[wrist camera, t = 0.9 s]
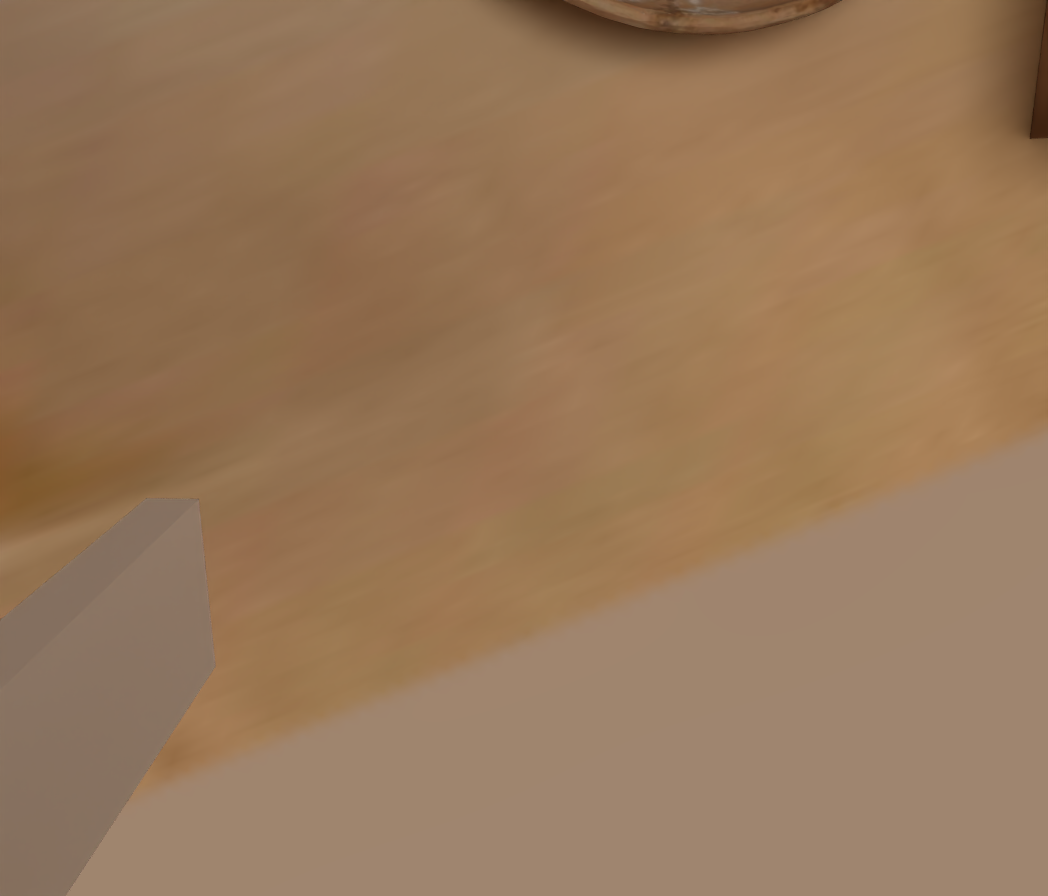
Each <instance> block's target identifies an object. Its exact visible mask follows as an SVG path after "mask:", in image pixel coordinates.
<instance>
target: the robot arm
mask: <svg viewBox="0 0 1048 896" xmlns="http://www.w3.org/2000/svg"><path fill="white" fill-rule="evenodd" d="M214 668H215V656H214V646H213V636H212V626H211V616H210V606H209V596H208V586H207V576H206V566H205V556H204V546H203V537H202V527H201V517H200V507H199V499H165V498H146V499H145V500H144V501H143V502H141V503H140V504H139V505H138V506H137V507H135V508H134V509H133V510H132V511H131V512H129V513H128V514H127V515H126V516H125V517H123V518H122V519H121V520H120V521H119V522H117V523H116V524H115V525H114V526H113V527H111V528H110V529H109V530H108V531H107V532H105V533H104V534H103V535H102V536H101V537H99V538H98V539H97V540H96V541H95V542H93V543H92V544H91V545H90V546H89V547H87V548H86V549H85V550H84V551H83V552H81V553H80V554H79V555H78V556H77V557H75V558H74V559H73V560H72V561H71V562H69V563H68V564H67V565H66V566H65V567H63V568H62V569H61V570H60V571H58V572H57V573H56V574H55V575H54V576H52V577H51V578H50V579H49V580H48V581H46V582H45V583H44V584H43V585H42V586H40V587H39V588H38V589H37V590H36V591H34V592H33V593H32V594H31V595H30V596H28V597H27V598H26V599H25V600H24V601H22V602H21V603H20V604H19V605H18V606H16V607H15V608H14V609H13V610H12V611H10V612H9V613H8V614H7V615H6V616H4V617H3V618H2V619H1V620H0V896H66V895H67V893H68V891H69V890H70V888H71V887H72V885H73V884H74V882H75V881H76V879H77V878H78V876H79V875H80V873H81V872H82V870H83V869H84V867H85V866H86V864H87V862H88V861H89V859H90V858H91V856H92V855H93V853H94V852H95V850H96V849H97V847H98V846H99V844H100V843H101V841H102V839H103V838H104V836H105V835H106V833H107V832H108V830H109V828H110V827H111V826H112V824H113V823H114V821H115V820H116V818H117V816H118V815H119V813H120V812H121V810H122V809H123V807H124V806H125V804H126V803H127V801H128V800H129V798H130V797H131V795H132V794H133V792H134V790H135V789H136V787H137V786H138V784H139V783H140V781H141V780H142V778H143V777H144V775H145V774H146V772H147V771H148V769H149V767H150V766H151V764H152V763H153V761H154V760H155V758H156V757H157V755H158V754H159V752H160V751H161V749H162V748H163V746H164V744H165V743H166V741H167V740H168V738H169V737H170V735H171V734H172V732H173V731H174V729H175V728H176V726H177V725H178V723H179V722H180V720H181V718H182V717H183V715H184V714H185V712H186V711H187V709H188V708H189V706H190V705H191V703H192V702H193V700H194V699H195V697H196V695H197V694H198V692H199V691H200V689H201V688H202V686H203V685H204V683H205V682H206V680H207V679H208V677H209V676H210V674H211V672H212V671H213V669H214Z"/></svg>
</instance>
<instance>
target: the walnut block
mask: <svg viewBox="0 0 1048 896" xmlns="http://www.w3.org/2000/svg"><path fill="white" fill-rule="evenodd" d="M1032 138H1048V0H1047V7H1046V15H1045V23H1044V31H1043V39H1042V47H1041V55H1040V63H1039V71H1038V79H1037V88H1036V96H1035V104H1034V112H1033V120H1032V128H1031V136H1030V139H1032Z"/></svg>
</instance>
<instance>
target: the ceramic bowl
mask: <svg viewBox="0 0 1048 896" xmlns="http://www.w3.org/2000/svg"><path fill="white" fill-rule="evenodd" d="M563 1H565V2H568V3H570V4H572V5H575V6H577V7H580V8H582V9H584V10H587V11H589V12H591V13H594V14H596V15H599V16H601V17H604V18H607V19H611V20H614V21H617V22H621V23H624V24H628V25H631V26H635V27H638V28H644V29H650V30H656V31H667V32H672V33H678V34H709V35H712V34H727V33H737V32H745V31H752V30H756V29H761V28H765V27H769V26H773V25H778V24H782V23H785V22H789V21H792V20H795V19H799V18H802V17H806V16H809V15H811V14H814V13H816V12H819V11H821V10H824V9H826V8H828V7H830V6H832V5H834V4H836V3H838V2H840V1H842V0H563Z"/></svg>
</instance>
